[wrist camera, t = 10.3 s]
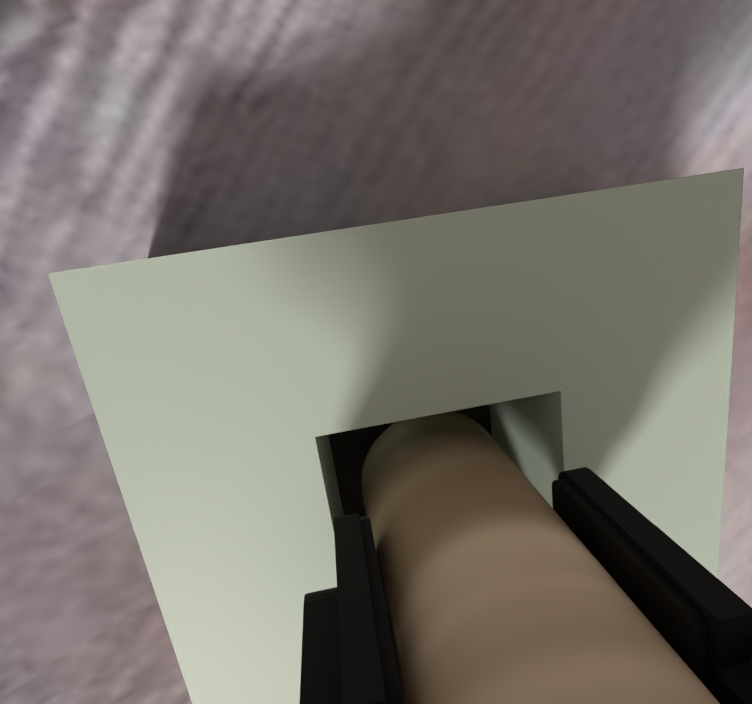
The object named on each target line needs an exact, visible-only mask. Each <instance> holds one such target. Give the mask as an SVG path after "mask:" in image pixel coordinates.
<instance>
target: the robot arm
mask: <svg viewBox="0 0 752 704" xmlns="http://www.w3.org/2000/svg"><path fill="white" fill-rule="evenodd" d="M552 504H553V509H554V510H555V511H556V513H557V514H558V515H559V516H560V517H561V518H562V520H563V521H564V522H565V523H566V524H567V525H568V527H569V528H570V529H571V530H572V531H573V532H574V534H575V535H576V536H577V537H578V538H579V539H580V541H581V542H582V543H583V544H584V545H585V546H586V548H587V549H588V550H589V551H590V552H591V553H592V555H593V556H594V557H595V558H596V559H597V560H598V562H599V563H600V564H601V565H602V566H603V567H604V569H605V570H606V571H607V572H608V573H609V575H610V576H611V577H612V578H613V579H614V580H615V582H616V583H617V584H618V585H619V586H620V587H621V589H622V590H623V591H624V592H625V593H626V594H627V596H628V597H629V598H630V599H631V600H632V601H633V603H634V604H635V605H636V606H637V607H638V608H639V610H640V611H641V612H642V613H643V614H644V615H645V617H646V618H647V619H648V620H649V621H650V622H651V624H652V625H653V626H654V627H655V628H656V629H657V631H658V632H659V633H660V634H661V635H662V636H663V638H664V639H665V640H666V641H667V642H668V643H669V645H670V646H671V647H672V648H673V649H674V650H675V652H676V653H677V654H678V655H679V656H680V657H681V659H682V660H683V661H684V662H685V663H686V665H687V666H688V667H689V668H690V669H691V670H692V672H693V673H694V674H695V675H696V676H697V677H698V679H699V680H700V681H701V682H702V683H703V684H704V686H705V687H706V688H707V689H708V690H709V691H710V693H711V694H712V695H713V696H714V697H715V698H716V700H717V701H718V702H719V703H720V704H752V608H751V607H750V606H749V605H748V604H746V603H745V602H744V601H743V600H742V599H741V598H739V597H738V596H737V595H736V594H735V593H734V592H733V591H731V590H730V589H729V588H728V587H727V586H726V585H724V584H723V583H722V582H721V581H720V580H719V579H717V578H716V577H715V576H714V575H713V574H712V573H710V572H709V571H708V570H707V569H706V568H705V567H704V566H702V565H701V564H700V563H699V562H698V561H697V560H695V559H694V558H693V557H692V556H691V555H690V554H688V553H687V552H686V551H685V550H684V549H683V548H682V547H680V546H679V545H678V544H677V543H676V542H675V541H673V540H672V539H671V538H670V537H669V536H668V535H666V534H665V533H664V532H663V531H662V530H661V529H659V528H658V527H657V526H656V525H654V524H653V523H652V522H651V521H649V520H648V519H647V518H646V517H645V516H644V515H643V514H641V513H640V512H639V511H638V510H637V509H636V508H634V507H633V506H632V505H631V504H630V503H629V502H627V501H626V500H625V499H624V498H623V497H622V496H621V495H619V494H618V493H617V492H616V491H615V490H614V489H612V488H611V487H610V486H609V485H608V484H607V483H606V482H604V481H603V480H602V479H601V478H600V477H599V476H597V475H596V474H595V473H594V472H593V471H592V470H590V469H589V468H587V467H582V468H577V469H573V470H568V471H563V472H560V473H559V475H558V480H554V481H553V482H552ZM334 538H335V557H336V576H337V587H334V588H330V589H325V590H321V591H316V592H311V593H307V594H305V596H304V607H303V632H302V656H301V681H300V704H403V698H402V692H401V687H400V681H399V675H398V670H397V664H396V659H395V653H394V648H393V642H392V637H391V631H390V626H389V620H388V615H387V609H386V604H385V598H384V593H383V587H382V582H381V576H380V571H379V565H378V560H377V554H376V548H375V543H374V537H373V532H372V526H371V521H370V518H367V519H362V520H360V516H359V513H356V514H351V515H346V516H341V517H336V518H334Z"/></svg>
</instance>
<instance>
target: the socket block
mask: <svg viewBox="0 0 752 704" xmlns="http://www.w3.org/2000/svg"><path fill="white" fill-rule="evenodd" d="M743 175H744V168H740V169H733V170H727V171H720V172H714V173H707V174H700V175H694V176H687V177H681V178H674V179H668V180H661V181H654V182H648V183H641V184H635V185H628V186H621V187H615V188H608V189H602V190H595V191H588V192H582V193H575V194H569V195H562V196H556V197H549V198H542V199H536V200H529V201H523V202H516V203H509V204H503V205H496V206H490V207H483V208H477V209H470V210H463V211H457V212H450V213H444V214H437V215H430V216H424V217H417V218H411V219H404V220H398V221H391V222H384V223H378V224H371V225H365V226H358V227H351V228H345V229H338V230H332V231H325V232H319V233H312V234H305V235H299V236H292V237H286V238H279V239H272V240H266V241H259V242H253V243H246V244H239V245H233V246H226V247H220V248H213V249H207V250H200V251H193V252H187V253H180V254H174V255H167V256H160V257H154V258H147V259H141V260H134V261H128V262H121V263H114V264H108V265H101V266H95V267H88V268H81V269H75V270H68V271H62V272H55V273H49V274H48V275H49V278H50V281H51V284H52V287H53V290H54V293H55V296H56V299H57V302H58V305H59V308H60V311H61V314H62V317H63V320H64V323H65V326H66V329H67V332H68V335H69V338H70V341H71V344H72V347H73V350H74V353H75V356H76V359H77V362H78V365H79V368H80V370H81V373H82V376H83V379H84V382H85V385H86V388H87V391H88V394H89V397H90V400H91V403H92V406H93V409H94V412H95V415H96V418H97V421H98V424H99V427H100V430H101V433H102V436H103V439H104V442H105V445H106V448H107V451H108V454H109V457H110V460H111V463H112V466H113V469H114V472H115V475H116V478H117V481H118V484H119V487H120V490H121V493H122V496H123V498H124V501H125V504H126V507H127V510H128V513H129V516H130V519H131V522H132V525H133V528H134V531H135V534H136V537H137V540H138V543H139V546H140V549H141V552H142V555H143V558H144V561H145V564H146V567H147V570H148V573H149V576H150V579H151V582H152V585H153V588H154V591H155V594H156V597H157V600H158V603H159V606H160V609H161V612H162V615H163V618H164V621H165V624H166V626H167V629H168V632H169V635H170V638H171V641H172V644H173V647H174V650H175V653H176V656H177V659H178V662H179V665H180V668H181V671H182V674H183V677H184V680H185V683H186V686H187V689H188V692H189V695H190V698H191V701H192V704H300V681H301V656H302V632H303V607H304V596H305V594H307V593H311V592H316V591H321V590H325V589H330V588H334V587H337V576H336V557H335V538H334V518H336V517H341V516H344V513H343V508H342V503H341V498H340V492H339V487H338V482H337V477H336V471H335V466H334V461H333V456H332V450H331V445H330V440H329V435H328V434H333V433H339V432H344V431H349V430H355V429H360V428H365V427H371V426H376V425H381V424H387V423H392V422H397V421H403V420H408V419H413V418H419V417H424V416H429V415H435V414H440V413H445V412H451V411H456V410H461V409H467V408H472V407H477V406H483V405H488V404H489V409H490V421H491V432H492V438H493V439H494V440H495V441H496V442H497V444H498V445H499V446H500V447H501V448H502V449H503V451H504V452H505V453H506V454H507V455H508V456H509V458H510V459H511V460H512V461H513V462H514V463H515V465H516V466H517V467H518V468H519V469H520V470H521V472H522V473H523V474H524V475H525V476H526V477H527V479H528V480H529V481H530V482H531V483H532V485H533V486H534V487H535V488H536V489H537V490H538V492H539V493H540V494H541V495H542V496H543V497H544V499H545V500H546V501H547V502H548V503H549V504H550V506H551V507H552V508H553V504H552V482H553V481H554V480H558V475H559V473H560V472H563V471H568V470H573V469H577V468H582V467H587V468H589V469H590V470H592V471H593V472H594V473H595V474H596V475H597V476H599V477H600V478H601V479H602V480H603V481H604V482H606V483H607V484H608V485H609V486H610V487H611V488H612V489H614V490H615V491H616V492H617V493H618V494H619V495H621V496H622V497H623V498H624V499H625V500H626V501H627V502H629V503H630V504H631V505H632V506H633V507H634V508H636V509H637V510H638V511H639V512H640V513H641V514H643V515H644V516H645V517H646V518H647V519H648V520H649V521H651V522H652V523H653V524H654V525H656V526H657V527H658V528H659V529H661V530H662V531H663V532H664V533H665V534H666V535H668V536H669V537H670V538H671V539H672V540H673V541H675V542H676V543H677V544H678V545H679V546H680V547H682V548H683V549H684V550H685V551H686V552H687V553H688V554H690V555H691V556H692V557H693V558H694V559H695V560H697V561H698V562H699V563H700V564H701V565H702V566H704V567H705V568H706V569H707V570H708V571H709V572H710V573H712V574H713V575H714V576H715V577H716V578H717V579H718V564H719V549H720V533H721V518H722V502H723V486H724V471H725V455H726V440H727V424H728V409H729V393H730V377H731V362H732V346H733V331H734V315H735V300H736V284H737V268H738V253H739V237H740V222H741V206H742V191H743ZM362 519H366V515H365V516H360V520H362Z"/></svg>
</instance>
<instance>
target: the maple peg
mask: <svg viewBox="0 0 752 704" xmlns="http://www.w3.org/2000/svg"><path fill="white" fill-rule="evenodd" d="M361 488H362V495H363V501H364V507H365V513H366V519H367V518H370V521H371V526H372V532H373V537H374V543H375V548H376V554H377V560H378V565H379V571H380V576H381V582H382V587H383V593H384V598H385V604H386V609H387V615H388V620H389V626H390V631H391V637H392V642H393V648H394V653H395V659H396V664H397V670H398V675H399V681H400V687H401V692H402V698H403V704H720V703H719V702H718V701H717V700H716V698H715V697H714V696H713V695H712V694H711V693H710V691H709V690H708V689H707V688H706V687H705V686H704V684H703V683H702V682H701V681H700V680H699V679H698V677H697V676H696V675H695V674H694V673H693V672H692V670H691V669H690V668H689V667H688V666H687V665H686V663H685V662H684V661H683V660H682V659H681V657H680V656H679V655H678V654H677V653H676V652H675V650H674V649H673V648H672V647H671V646H670V645H669V643H668V642H667V641H666V640H665V639H664V638H663V636H662V635H661V634H660V633H659V632H658V631H657V629H656V628H655V627H654V626H653V625H652V624H651V622H650V621H649V620H648V619H647V618H646V617H645V615H644V614H643V613H642V612H641V611H640V610H639V608H638V607H637V606H636V605H635V604H634V603H633V601H632V600H631V599H630V598H629V597H628V596H627V594H626V593H625V592H624V591H623V590H622V589H621V587H620V586H619V585H618V584H617V583H616V582H615V580H614V579H613V578H612V577H611V576H610V575H609V573H608V572H607V571H606V570H605V569H604V567H603V566H602V565H601V564H600V563H599V562H598V560H597V559H596V558H595V557H594V556H593V555H592V553H591V552H590V551H589V550H588V549H587V548H586V546H585V545H584V544H583V543H582V542H581V541H580V539H579V538H578V537H577V536H576V535H575V534H574V532H573V531H572V530H571V529H570V528H569V527H568V525H567V524H566V523H565V522H564V521H563V520H562V518H561V517H560V516H559V515H558V514H557V513H556V511H555V510H554V509H553V508H552V507H551V506H550V504H549V503H548V502H547V501H546V500H545V499H544V497H543V496H542V495H541V494H540V493H539V492H538V490H537V489H536V488H535V487H534V486H533V485H532V483H531V482H530V481H529V480H528V479H527V477H526V476H525V475H524V474H523V473H522V472H521V470H520V469H519V468H518V467H517V466H516V465H515V463H514V462H513V461H512V460H511V459H510V458H509V456H508V455H507V454H506V453H505V452H504V451H503V449H502V448H501V447H500V446H499V445H498V444H497V442H496V441H495V440H494V439H493V438H492V437H491V435H490V434H489V433H488V432H487V431H486V430H485V429H484V428H483V427H482V426H481V425H480V424H479V423H477V422H476V421H474V420H473V419H471V418H469V417H467V416H465V415H462V414H460V413H456V412H452V411H451V412H445V413H440V414H435V415H429V416H424V417H419V418H413V419H408V420H403V421H397V422H395V423H394V424H392V425H391V426H390V427H388V428H387V429H386V430H385V431H384V432H383V433H382V434H381V435H380V436H379V437H378V438H377V439H376V440H375V442H374V443H373V445H372V446H371V448H370V449H369V451H368V453H367V455H366V458H365V461H364V464H363V468H362V473H361Z"/></svg>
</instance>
